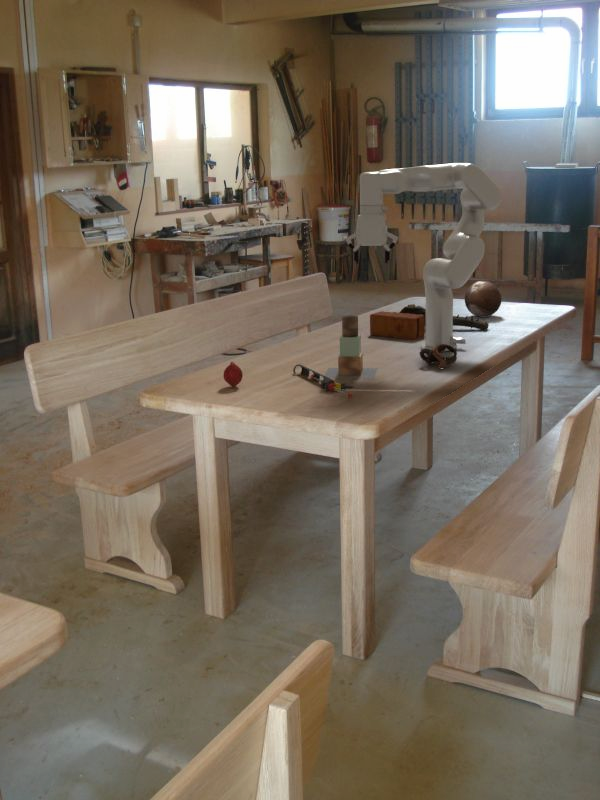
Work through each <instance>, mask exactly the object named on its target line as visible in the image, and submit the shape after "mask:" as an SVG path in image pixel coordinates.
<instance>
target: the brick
mask: <svg viewBox="0 0 600 800" xmlns="http://www.w3.org/2000/svg"><path fill="white" fill-rule="evenodd" d="M369 333H370V336H374V335H377V336H376V337H385V338H391V339H392V338H395V339H402V340H403V339H404V340H411V341H414V340H418V339H421V338H423V337H425V316H424V315H422V314H420V315H416V314H409V313H406V314H405V313H399V312H397V311H384V310H381V311H377V312H374V313H371V314H370V315H369Z"/></svg>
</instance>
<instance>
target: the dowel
mask: <svg viewBox="0 0 600 800" xmlns="http://www.w3.org/2000/svg"><path fill="white" fill-rule="evenodd" d="M341 330H342V331H341V332H342V333H341V335H342V336H343V337H357V336H358V334H359V316H358V315H343V316H342V317H341Z"/></svg>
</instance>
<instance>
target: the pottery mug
mask: <svg viewBox="0 0 600 800" xmlns="http://www.w3.org/2000/svg"><path fill="white" fill-rule="evenodd" d="M446 348H447V349H448V350H449V351H448V353H452V354H453V355H452V356H443V354H442V352H445V351H444V350H446ZM425 354H426V355H425ZM457 355H458V352H457V350H456V349H454V348H453V347H451V346H449V345H446V344H439V345H437V346H436V347H435V348H433V349H432V350H430V349H428V348H424V349H421V350H420V352H419V356H420V358H421V359H422V361H424V362H425V363H426V365H429V364H430V363H431V364H433V363H439V362H440V363H439V365H438V368H439V369H440V368H444V369H445V368H446V367H449V366H452V365H454V364H455V363H456V361H457V358H458V357H457ZM432 362H433V363H432ZM431 364H430V365H431Z"/></svg>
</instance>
